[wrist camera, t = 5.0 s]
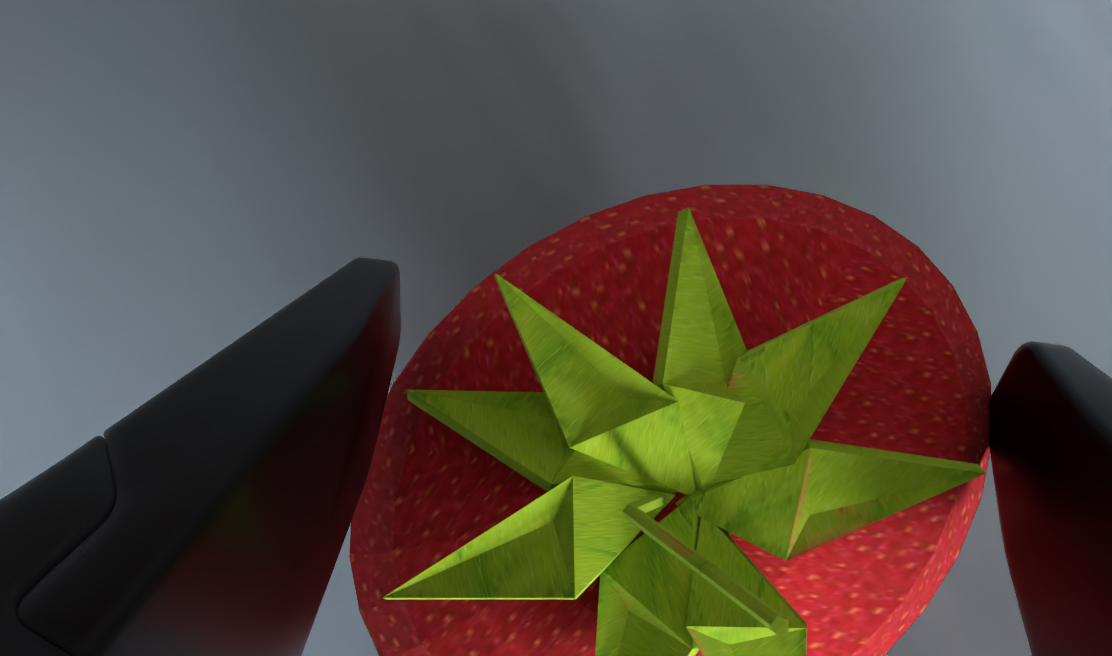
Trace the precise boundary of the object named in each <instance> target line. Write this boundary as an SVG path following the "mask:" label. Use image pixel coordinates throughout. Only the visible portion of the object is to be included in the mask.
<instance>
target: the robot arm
mask: <svg viewBox="0 0 1112 656" xmlns="http://www.w3.org/2000/svg"><path fill="white" fill-rule="evenodd" d="M400 331H401V308H400V272H399V268H398V266H397V264H396V263H395V262H393V261H387V260H380V259H372V258H363V257H359V258H356V259H354V260H352V261H351V262H349V263H348V264H347V265H345V266H344V267H342V268H341V269H339V270H338V271H336V272H335V273H333V274H332V275H331V276H329V277H328V278H326V279H325V280H323V281H322V282H320V283H319V284H317V285H316V286H315V287H313V288H312V289H310V290H309V291H307V292H306V293H304V294H303V295H301V296H300V297H299V298H297V299H296V300H294V301H293V302H291V303H290V304H288V305H287V306H285V307H284V308H283V309H281V310H280V311H278V312H277V313H275V314H274V315H272V316H271V317H269V318H268V319H267V320H265V321H264V322H262V323H261V324H259V325H258V326H256V327H255V328H253V329H252V330H251V331H249V332H248V333H246V334H245V335H243V336H242V337H240V338H239V339H237V340H236V341H235V342H233V343H232V344H230V345H229V346H227V347H226V348H224V349H223V350H221V351H220V352H219V353H217V354H216V355H214V356H213V357H211V358H210V359H208V360H207V361H205V362H204V363H203V364H201V365H200V366H198V367H197V368H195V369H194V370H192V371H191V372H189V373H188V374H187V375H185V376H184V377H182V378H181V379H179V380H178V381H176V382H175V383H173V384H172V385H171V386H169V387H168V388H166V389H165V390H163V391H162V392H160V393H159V394H157V395H156V396H155V397H153V398H152V399H150V400H149V401H147V402H146V403H144V404H143V405H141V406H140V407H139V408H137V409H136V410H134V411H133V412H131V413H130V414H128V415H127V416H125V417H124V418H123V419H121V420H120V421H118V422H117V423H115V424H114V425H112V426H111V427H109V428H108V429H107V430H105V432H104V438H105V439H104V438H103V437H102V436H96V437H94V438H93V439H91V440H90V441H89V442H87V443H86V444H84V445H83V446H81V447H80V448H78V449H77V450H75V451H74V452H73V453H71V454H70V455H68V456H67V457H65V458H64V459H62V460H61V461H59V462H58V463H56V464H55V465H53V466H52V467H50V468H49V469H47V470H45V471H44V472H42V473H41V474H39V475H38V476H36V477H35V478H33V479H32V480H30V481H29V482H27V483H26V484H24V485H23V486H21V487H19V488H18V489H16V490H15V491H13V492H12V493H10V494H9V495H7V496H5V497H4V498H2V499H0V656H301V654H302V652H303V649H304V646H305V644H306V641H307V638H308V636H309V633H310V630H311V628H312V625H313V622H314V620H315V617H316V614H317V612H318V609H319V606H320V604H321V601H322V598H323V595H324V593H325V590H326V587H327V585H328V582H329V579H330V577H331V574H332V571H333V569H334V566H335V563H336V561H337V558H338V555H339V553H340V550H341V547H342V545H343V542H344V539H345V537H346V534H347V531H348V529H349V526H350V523H351V520H352V518H353V515H354V512H355V510H356V507H357V504H358V502H359V499H360V496H361V494H362V491H363V488H364V485H365V482H366V479H367V476H368V473H369V470H370V466H371V462H372V458H373V454H374V451H375V446H376V442H377V438H378V433H379V429H380V425H381V420H382V416H383V412H384V407H385V403H386V399H387V394H388V390H389V386H390V381H391V377H392V373H393V368H394V364H395V360H396V355H397V351H398V346H399V340H400ZM989 448H990V455H991V462H992V469H993V476H994V483H995V490H996V497H997V504H998V511H999V518H1000V525H1001V532H1002V538H1003V543H1004V549H1005V554H1006V558H1007V562H1008V566H1009V571H1010V575H1011V578H1012V582H1013V586H1014V590H1015V593H1016V597H1017V601H1018V605H1019V608H1020V612H1021V616H1022V619H1023V623H1024V627H1025V631H1026V634H1027V638H1028V642H1029V646H1030V649H1031V653H1032V656H1112V379H1111V378H1110V377H1109V376H1107V375H1106V374H1105V373H1103V372H1102V371H1101V370H1099V369H1098V368H1097V367H1095V366H1094V365H1093V364H1091V363H1090V362H1089V361H1087V360H1086V359H1085V358H1083V357H1082V356H1081V355H1079V354H1078V353H1077V352H1075V351H1074V350H1072V349H1071V348H1069V347H1066V346H1063V345H1056V344H1048V343H1040V342H1027V343H1024V344H1022V345H1021V346H1020V347H1019V348H1018V349H1017V350H1016V352H1015V353H1014V355H1013V357H1012V359H1011V360H1010V362H1009V364H1008V366H1007V368H1006V370H1005V372H1004V373H1003V375H1002V377H1001V379H1000V381H999V383H998V384H997V386H996V388H995V390H994V392H993V394H992V395H991V397H990V412H989Z"/></svg>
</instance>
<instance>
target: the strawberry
mask: <svg viewBox="0 0 1112 656" xmlns="http://www.w3.org/2000/svg"><path fill="white" fill-rule="evenodd" d="M990 397H991V383H990V379H989V375H988V371H987V367H986V363H985V359H984V356H983V352H982V348H981V344H980V340H979V336H978V332H977V330H976V328H975V326H974V324H973V323H972V321H971V319H970V317H969V315H968V313H967V311H966V309H965V308H964V306H963V304H962V302H961V300H960V298H959V296H958V294H957V293H956V291H955V289H954V287H953V285H952V284H951V283H950V282H949V281H948V280H947V278H946V277H945V276H944V275H943V274H942V273H941V272H940V271H939V270H938V268H937V267H936V266H935V265H934V264H933V263H932V262H931V261H930V260H929V258H928V257H927V256H926V255H925V254H924V253H923V252H922V251H921V249H920V248H919V247H918V246H917V245H915V244H914V243H912V242H911V241H909V240H908V239H906V238H905V237H904V236H902V235H901V234H899V233H898V232H896V231H895V230H893V229H892V228H891V227H889V226H888V225H886V224H885V223H883V222H882V221H880V220H879V219H878V218H876V217H875V216H873V215H870V214H868V213H865V212H863V211H861V210H858V209H856V208H853V207H851V206H848V205H846V204H843V203H841V202H838V201H836V200H833V199H831V198H828V197H826V196H824V195H819V194H814V193H809V192H803V191H798V190H792V189H787V188H781V187H776V186H771V185H703V186H697V187H691V188H686V189H680V190H674V191H669V192H663V193H657V194H652V195H646V196H643V197H640V198H637V199H634V200H631V201H628V202H626V203H623V204H620V205H617V206H614V207H611V208H608V209H606V210H603V211H600V212H597V213H594V214H591V215H588V216H586V217H583V218H582V219H580V220H578V221H576V222H574V223H572V224H570V225H569V226H567V227H565V228H563V229H561V230H559V231H557V232H555V233H554V234H552V235H550V236H548V237H546V238H544V239H542V240H540V241H539V242H537V243H535V244H533V245H531V246H529V247H527V248H526V249H525V250H523V251H522V252H521V253H519V254H518V255H517V256H515V257H514V258H513V259H511V260H510V261H509V262H507V263H506V264H505V265H503V266H502V267H501V268H499V269H498V270H497V271H495V272H494V273H493V274H491V275H490V276H489V277H487V278H486V279H485V280H483V281H482V282H481V283H479V284H478V285H477V286H475V287H474V288H473V289H472V290H471V291H470V292H469V293H468V294H467V295H466V296H465V297H464V298H463V299H462V300H461V301H460V302H459V303H458V304H457V305H456V306H455V307H454V308H453V309H452V310H451V311H450V312H449V313H448V314H447V315H446V316H445V317H444V318H443V319H442V320H441V321H440V323H439V324H438V325H437V326H436V327H435V328H434V329H433V330H432V331H431V332H430V333H429V334H428V335H427V337H426V338H425V340H424V341H423V342H422V344H421V345H420V347H419V348H418V349H417V351H416V352H415V354H414V355H413V357H412V358H411V359H410V361H409V362H408V364H407V365H406V366H405V368H404V369H403V371H402V372H401V374H400V375H399V376H398V378H397V379H396V381H395V382H394V384H393V386H392V388H391V390H390V392H389V394H388V396H387V399H386V403H385V407H384V412H383V416H382V420H381V425H380V429H379V433H378V438H377V442H376V446H375V451H374V454H373V458H372V462H371V466H370V470H369V473H368V476H367V479H366V482H365V485H364V488H363V491H362V494H361V496H360V499H359V502H358V504H357V507H356V510H355V512H354V515H353V518H352V520H351V538H350V562H351V567H352V573H353V578H354V584H355V589H356V595H357V600H358V606H359V611H360V614H361V616H362V618H363V620H364V623H365V625H366V627H367V629H368V632H369V634H370V636H371V638H372V641H373V643H374V645H375V647H376V649H377V652H378V654H379V656H884V655H885V654H886V653H887V652H888V651H889V649H890V648H891V647H892V646H893V645H894V644H895V643H896V642H897V640H898V639H899V638H900V637H901V636H902V635H903V634H904V633H905V631H906V630H907V629H908V628H909V627H910V626H911V625H912V624H913V622H914V621H915V620H916V619H917V618H918V617H919V616H920V615H921V614H922V612H923V611H924V610H925V608H926V607H927V605H928V603H929V602H930V600H931V599H932V597H933V595H934V594H935V592H936V591H937V589H938V587H939V586H940V584H941V583H942V581H943V580H944V578H945V576H946V575H947V573H948V572H949V570H950V568H951V567H952V565H953V564H954V562H955V560H956V559H957V557H958V555H959V553H960V550H961V548H962V545H963V543H964V540H965V538H966V535H967V533H968V530H969V528H970V525H971V523H972V520H973V518H974V515H975V513H976V510H977V508H978V505H979V503H980V500H981V497H982V492H983V487H984V481H985V476H986V471H987V465H988V460H989V455H990V448H989V412H990Z"/></svg>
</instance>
